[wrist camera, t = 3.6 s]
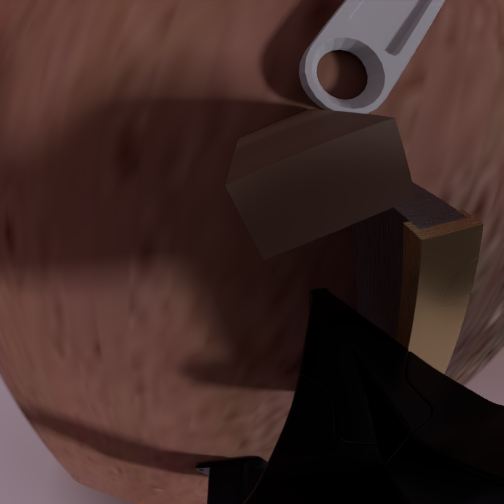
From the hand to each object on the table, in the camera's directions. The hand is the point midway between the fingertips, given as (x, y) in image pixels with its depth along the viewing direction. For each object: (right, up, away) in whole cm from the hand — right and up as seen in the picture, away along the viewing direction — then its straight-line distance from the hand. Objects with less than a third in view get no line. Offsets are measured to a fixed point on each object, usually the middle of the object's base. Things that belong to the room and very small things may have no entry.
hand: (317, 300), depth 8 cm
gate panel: (+3, -1, +3) cm, 4 cm away
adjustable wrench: (+6, +16, -5) cm, 18 cm away
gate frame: (+1, 0, +3) cm, 3 cm away
